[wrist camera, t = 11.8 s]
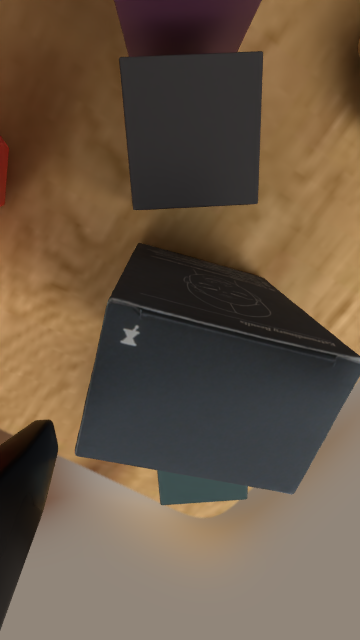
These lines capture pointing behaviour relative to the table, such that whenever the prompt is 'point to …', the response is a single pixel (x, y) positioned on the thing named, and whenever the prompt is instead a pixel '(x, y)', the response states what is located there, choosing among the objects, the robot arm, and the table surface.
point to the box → (211, 375)
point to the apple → (3, 169)
